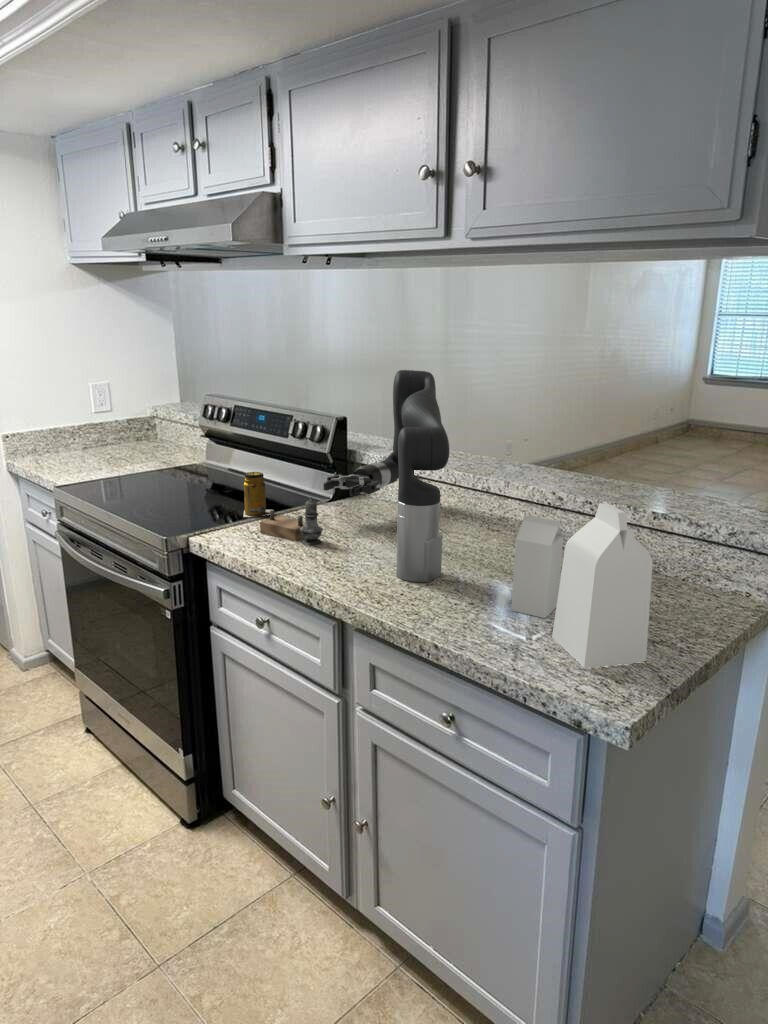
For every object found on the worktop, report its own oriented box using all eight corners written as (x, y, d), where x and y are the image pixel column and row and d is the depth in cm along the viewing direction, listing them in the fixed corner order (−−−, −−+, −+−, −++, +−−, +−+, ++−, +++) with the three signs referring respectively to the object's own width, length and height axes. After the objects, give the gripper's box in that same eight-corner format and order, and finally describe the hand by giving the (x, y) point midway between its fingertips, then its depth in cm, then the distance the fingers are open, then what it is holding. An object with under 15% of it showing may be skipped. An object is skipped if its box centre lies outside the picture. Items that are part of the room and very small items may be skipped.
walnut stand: (312, 534, 189) (312, 514, 188) (295, 540, 184) (295, 520, 182) (277, 526, 196) (277, 507, 194) (260, 532, 190) (259, 512, 188)
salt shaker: (312, 547, 179) (311, 500, 176) (295, 542, 182) (294, 496, 179) (327, 541, 183) (327, 496, 180) (310, 537, 187) (310, 492, 184)
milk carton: (545, 619, 139) (553, 525, 134) (510, 611, 142) (517, 519, 137) (557, 607, 145) (565, 516, 140) (524, 599, 148) (530, 510, 143)
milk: (551, 638, 131) (563, 500, 124) (609, 633, 133) (623, 497, 126) (584, 669, 119) (599, 519, 112) (645, 663, 122) (664, 516, 115)
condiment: (243, 511, 210) (242, 470, 207) (273, 510, 212) (272, 470, 209) (243, 517, 204) (241, 476, 200) (273, 517, 205) (272, 475, 202)
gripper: (351, 461, 205) (316, 471, 192) (393, 467, 197) (359, 479, 184) (351, 486, 207) (316, 498, 194) (393, 494, 200) (359, 507, 186)
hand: (337, 489), depth 189 cm, fingers open, 8 cm apart
